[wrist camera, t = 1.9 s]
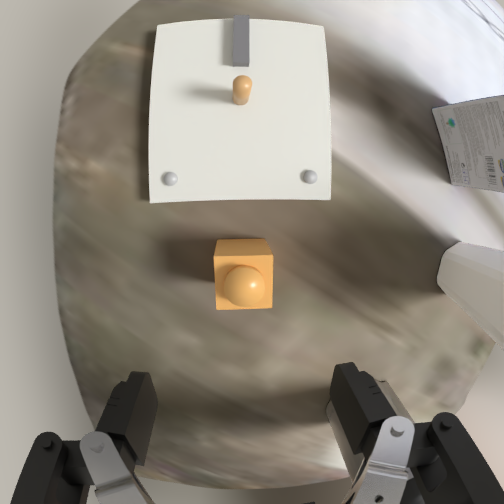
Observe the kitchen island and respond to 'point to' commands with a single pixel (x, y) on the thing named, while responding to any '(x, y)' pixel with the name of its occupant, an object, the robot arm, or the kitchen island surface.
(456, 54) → the kitchen island surface
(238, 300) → the cube with dome knob
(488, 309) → the cup
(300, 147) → the plate
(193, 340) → the kitchen island surface
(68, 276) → the kitchen island surface
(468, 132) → the ink cartridge box
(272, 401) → the kitchen island surface
